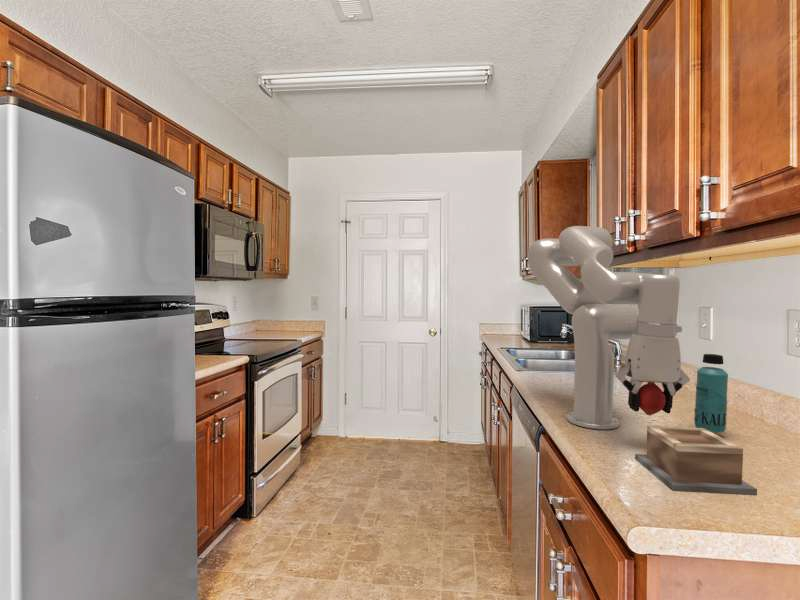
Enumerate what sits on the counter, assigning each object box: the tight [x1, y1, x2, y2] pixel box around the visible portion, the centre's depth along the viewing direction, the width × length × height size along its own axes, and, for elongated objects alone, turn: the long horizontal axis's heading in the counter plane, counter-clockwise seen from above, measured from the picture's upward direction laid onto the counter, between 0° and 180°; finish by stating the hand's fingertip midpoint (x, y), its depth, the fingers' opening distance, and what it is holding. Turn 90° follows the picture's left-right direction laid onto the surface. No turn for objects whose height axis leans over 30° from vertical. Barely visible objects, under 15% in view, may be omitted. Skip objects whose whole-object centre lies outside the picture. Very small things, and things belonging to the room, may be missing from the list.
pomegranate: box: [638, 382, 666, 416], centre depth 94 cm, size 6×6×8 cm
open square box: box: [634, 425, 758, 496], centre depth 81 cm, size 14×14×8 cm
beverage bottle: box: [693, 353, 729, 434], centre depth 104 cm, size 6×7×20 cm
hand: (649, 409), depth 94 cm, fingers closed on pomegranate, 5 cm apart
